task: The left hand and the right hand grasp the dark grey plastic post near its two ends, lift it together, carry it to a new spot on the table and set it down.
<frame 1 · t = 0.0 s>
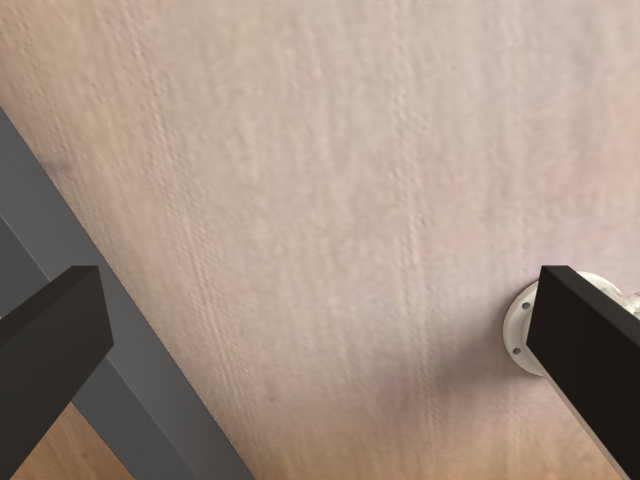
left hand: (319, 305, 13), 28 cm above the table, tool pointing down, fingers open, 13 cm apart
post: (62, 244, 42), on the table
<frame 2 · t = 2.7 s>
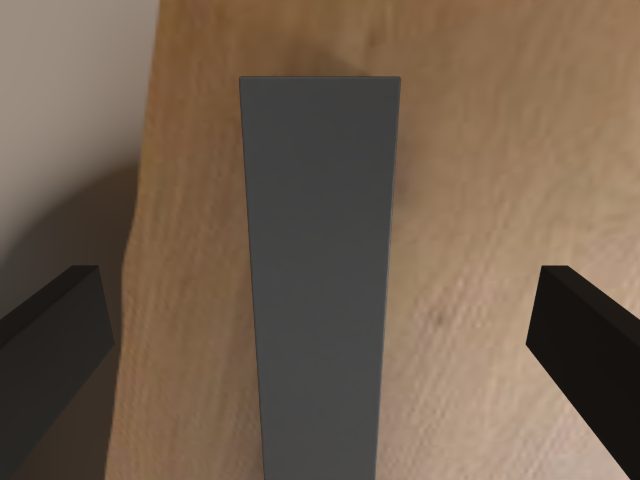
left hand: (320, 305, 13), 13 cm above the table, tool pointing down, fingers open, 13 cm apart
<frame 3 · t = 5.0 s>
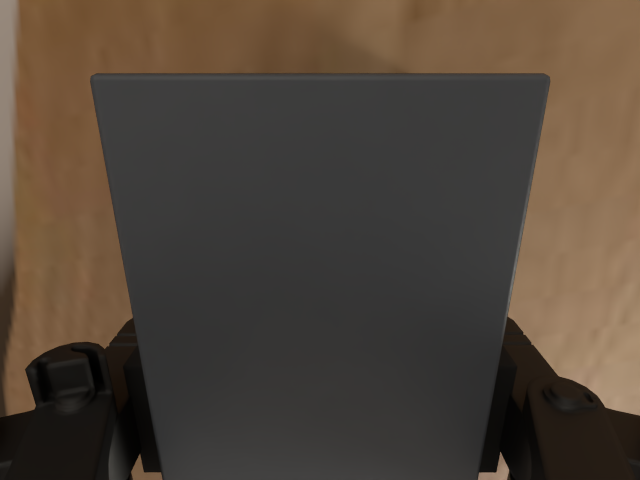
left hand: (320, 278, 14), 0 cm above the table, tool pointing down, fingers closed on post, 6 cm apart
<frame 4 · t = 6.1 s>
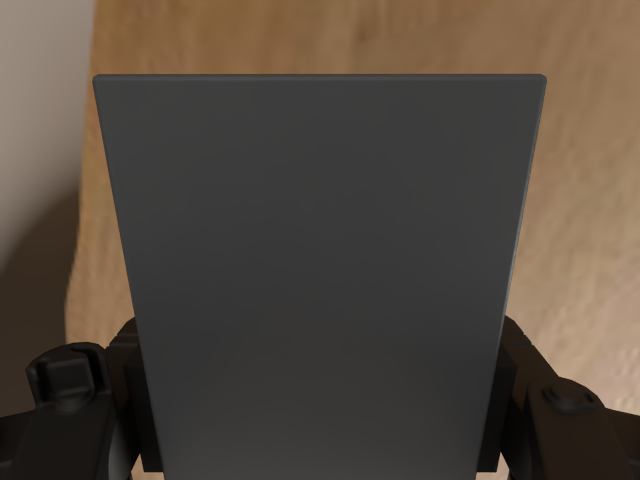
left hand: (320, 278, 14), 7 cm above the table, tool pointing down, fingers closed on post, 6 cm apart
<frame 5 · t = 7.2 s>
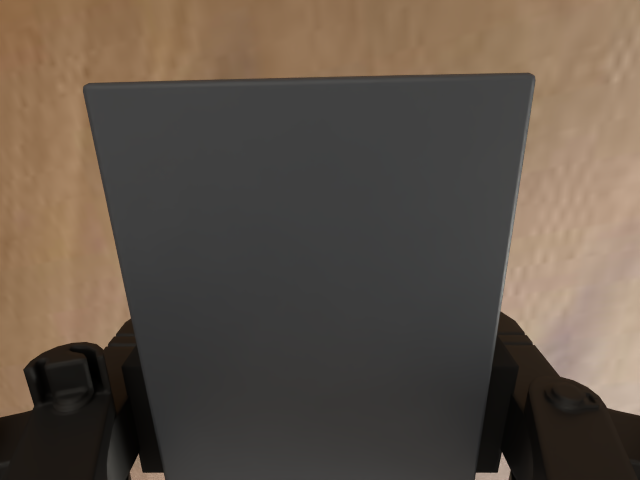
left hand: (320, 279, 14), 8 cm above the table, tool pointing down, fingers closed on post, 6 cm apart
when the left hand's fingers open (1 cm above the table, at t = 9.5 s): post stays where it is, on the table.
when the right hand's fingers open (3 cm above the table, at t = 9.7 s): post stays where it is, on the table.
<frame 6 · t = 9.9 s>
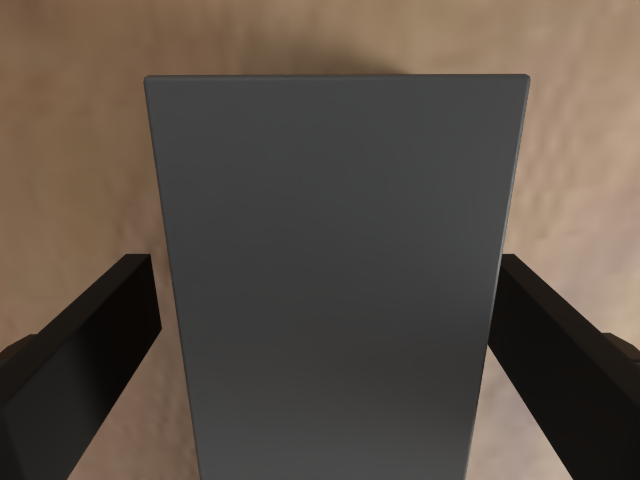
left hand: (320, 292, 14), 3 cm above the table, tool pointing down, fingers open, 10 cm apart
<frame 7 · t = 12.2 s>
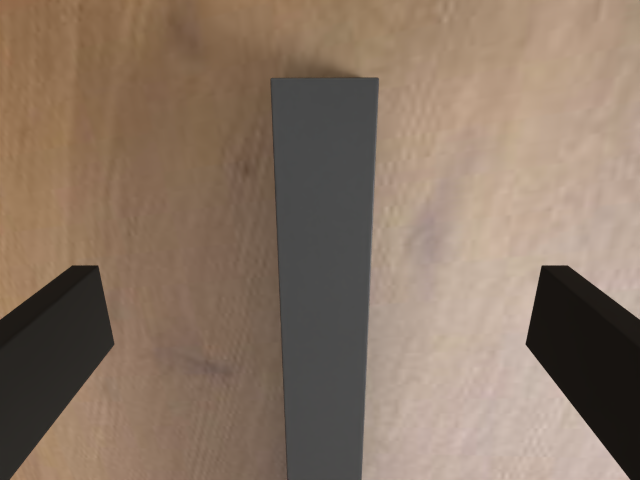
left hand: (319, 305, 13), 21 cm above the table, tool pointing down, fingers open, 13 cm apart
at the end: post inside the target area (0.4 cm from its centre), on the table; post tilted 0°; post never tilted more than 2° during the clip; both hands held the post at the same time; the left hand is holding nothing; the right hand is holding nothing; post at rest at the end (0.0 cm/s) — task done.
